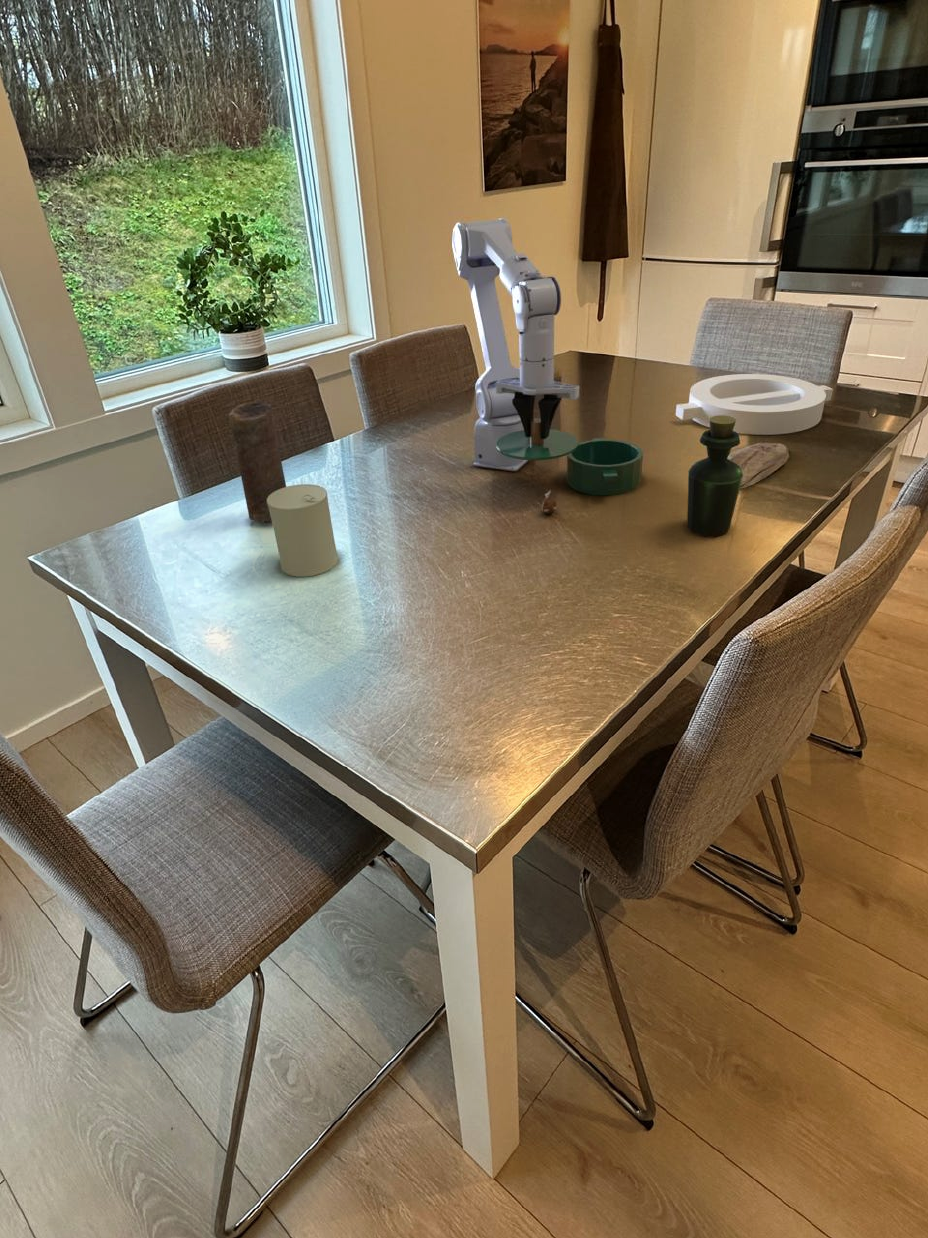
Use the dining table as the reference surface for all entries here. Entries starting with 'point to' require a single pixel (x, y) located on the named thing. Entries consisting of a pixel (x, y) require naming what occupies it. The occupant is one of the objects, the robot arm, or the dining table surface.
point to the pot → (604, 467)
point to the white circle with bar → (757, 403)
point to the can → (303, 529)
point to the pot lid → (537, 444)
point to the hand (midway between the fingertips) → (537, 436)
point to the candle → (257, 456)
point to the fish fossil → (759, 461)
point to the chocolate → (548, 504)
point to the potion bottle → (714, 481)
